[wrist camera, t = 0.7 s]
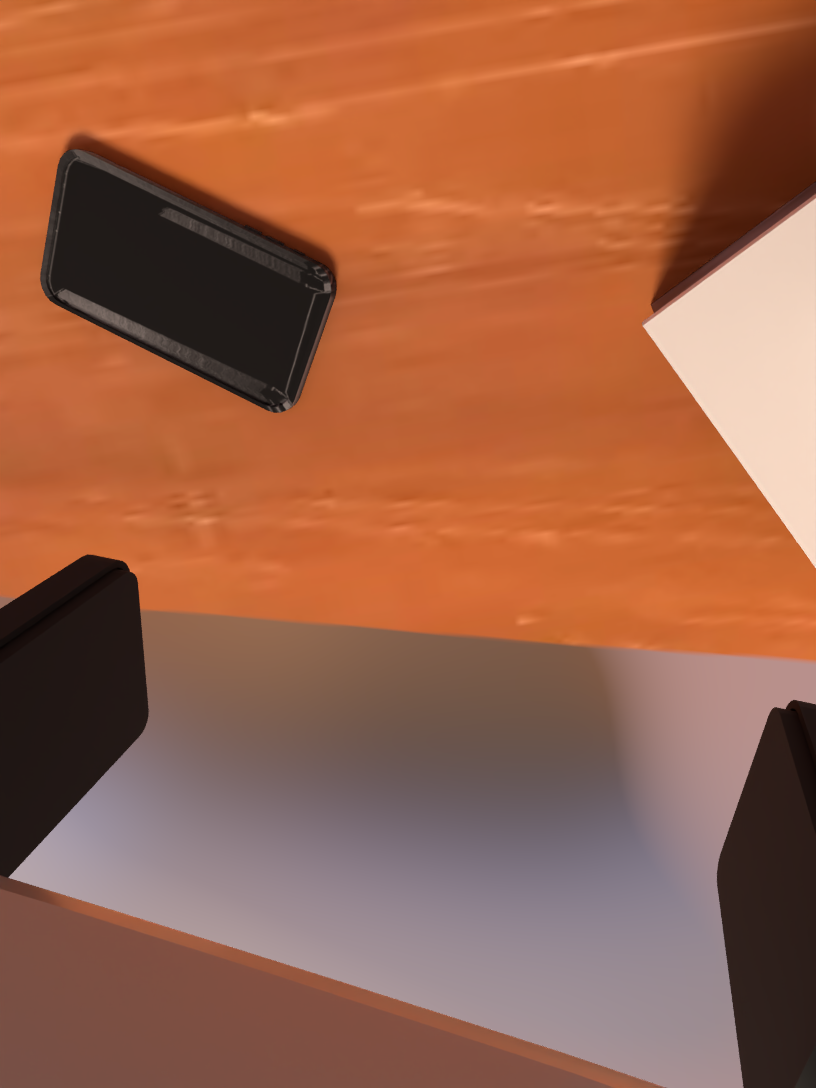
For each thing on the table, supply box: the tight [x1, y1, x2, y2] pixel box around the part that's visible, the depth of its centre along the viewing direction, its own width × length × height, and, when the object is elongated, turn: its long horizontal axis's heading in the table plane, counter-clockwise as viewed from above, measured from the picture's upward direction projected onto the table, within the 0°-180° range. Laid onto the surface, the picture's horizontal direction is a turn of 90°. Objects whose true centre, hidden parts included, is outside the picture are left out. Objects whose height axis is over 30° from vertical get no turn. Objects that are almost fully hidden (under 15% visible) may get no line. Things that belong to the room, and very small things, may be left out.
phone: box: [40, 149, 337, 413], centre depth 38 cm, size 8×1×15 cm
